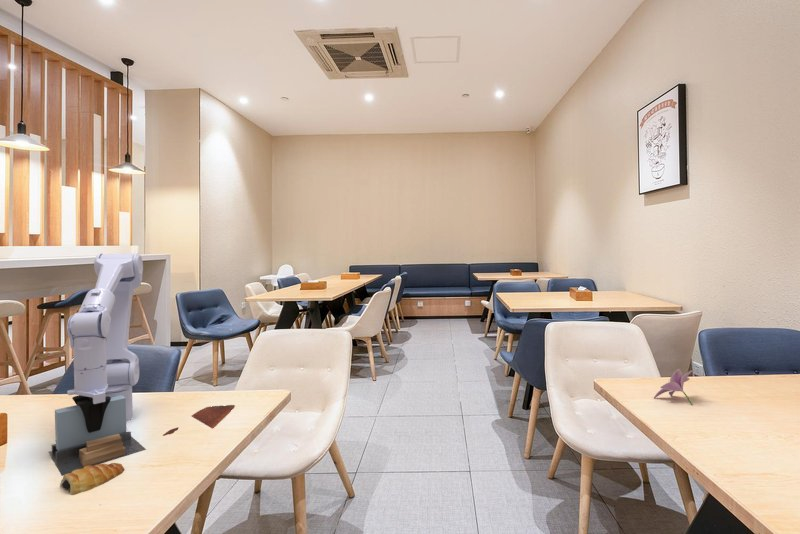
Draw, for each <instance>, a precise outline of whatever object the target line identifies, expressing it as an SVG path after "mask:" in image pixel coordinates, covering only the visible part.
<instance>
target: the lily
mask: <svg viewBox="0 0 800 534" xmlns="http://www.w3.org/2000/svg"><path fill="white" fill-rule="evenodd" d="M693 371H695V369H691V370H689V371H687V372H686V373H684V374H683V373H682V370H681V369H680V368H677V369H676V370H674V372H673V373H672V375H671V376H670V377H669V378H670V379H669V381H668V382H666V383H664V384H663V385H662V386H660V390H659V391H657V393H656V394H654V396H653V399H656V398H657V397H659V396H660V395H662V394H664V393H666V392H668V395H669V396H670V397H672V396H673V395H674V393H675V392H680V393H681V392H682V393H683V395H685V397H686V398H687V400H688V402H689V403H690V406H693V403H692V401H691V400H690V398H689V396H688V395H687V394H686V392H685V391H684V384H685V383H686V382H688V381H690V378H689V375H690V374H692V372H693Z"/></svg>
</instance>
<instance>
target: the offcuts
mask: <svg viewBox="0 0 800 534" xmlns="http://www.w3.org/2000/svg"><path fill="white" fill-rule="evenodd" d="M124 454H126V450H125V447H124V446H123V442H122V438H121V436H120V435H119V434H115V435H111V436H107V437H103V438H99V439H95V440H91V441H87V442H86V448H83V449H80V450H79V461H80V462H81V464H82V465H83V466H84V467H85V466H88V465H91V464H95V463H98V462H101V461H104V460H108V459H111V458H114V457H117V456H120V455H124Z"/></svg>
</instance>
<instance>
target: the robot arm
mask: <svg viewBox="0 0 800 534" xmlns="http://www.w3.org/2000/svg"><path fill="white" fill-rule="evenodd" d="M93 265H94V266H93V268H94V272H95V274H96V276H97V281H96V283H95V287H94V288H93V289H92V288H91V290H89V291H88V292H87V293H86V295H85V297H84V299H83V300H82V304H81V306H80V307H79V310H78V312H76V313H74V314H73V315H70V316H69V317H68V320H67V325H66V326H67V327H66V332H67V336H68V339H69V346H70V349H73V350H72V352H73V357H72V358H73V379H74V380H73V381H74V384H73V385H74V388H73V389H69V390H66V391H67V392H66V393H67V395H68V396H73V397H71V398H72V400H73V402H74V403H75V405H79V407H80V408H81V410H82V412H83V415H84V418H85V423H86V427H87V430H88V432H89V433H91V432H94V431H98V430H100V429H101V426H102V422H103V417H104V413H105V410H106V408H107V406H108V404H109V402H110V400H111V398H112V397H116V396H121V395H122V396H123V397H125V398H126V423H127V422H128V421H130V420H132V419H133V418H134V416H133V415H134V414H133V412H134V411H133V386H135V385H136V384H137V383H139V379H140V364H139V363H140V359H139V357H138V355H137V354H136V353H134V352H133V351H131V350H129V349H128V347H129V346H128V345H129V334H130V324H131V315H132V306H133V305H132V304H133V296H134V293H135V292H134V291H135V289H137V288H139V287H141V285H142V282H143V273H144V261H143V257H142V256H141V254H139V252H138V253H98V254H97V255H96V256H95V258H94V263H93ZM74 395H75V396H74Z"/></svg>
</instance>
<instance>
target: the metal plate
mask: <svg viewBox="0 0 800 534" xmlns="http://www.w3.org/2000/svg"><path fill="white" fill-rule="evenodd" d="M119 435H120V436H121V438H122V442H123V446H124V447H125V450H126V454H124V455H120V456H117V457H114V458H111V459H108V460H104V461H101V462H98V463H95V464H91V465H92V466H94V465H98V464H106V463H108V462H111V461H114V460H118V459H120V458H124V457H127V456H130V455H133V454H137V453H140V452H143V451H146V450H147V449H146V448H145V447H144V446H143V445H142V444H140V442H139V441H137V439H135V438H134V437H133V436H132V431H130V430H128V431H126V432H125V433H121V434H119ZM83 448H86V443H85V444H82V445H78V446H74V447H71V448H67V449H63V450H60V451H58V450H57V449H56V443H53V444H51V451H48V454H49V456H50V459H51V460H52V461H53V464H54V465H55V467H56V468H57V470H58V472H59V474H60V475H61V477H63V476H64V475H65V474H68V473H72V471H74V470H77V469H83V468H84V466H83V465H82V464H81V462H80V461H79V450H80V449H83ZM88 466H89V465H88Z"/></svg>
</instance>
